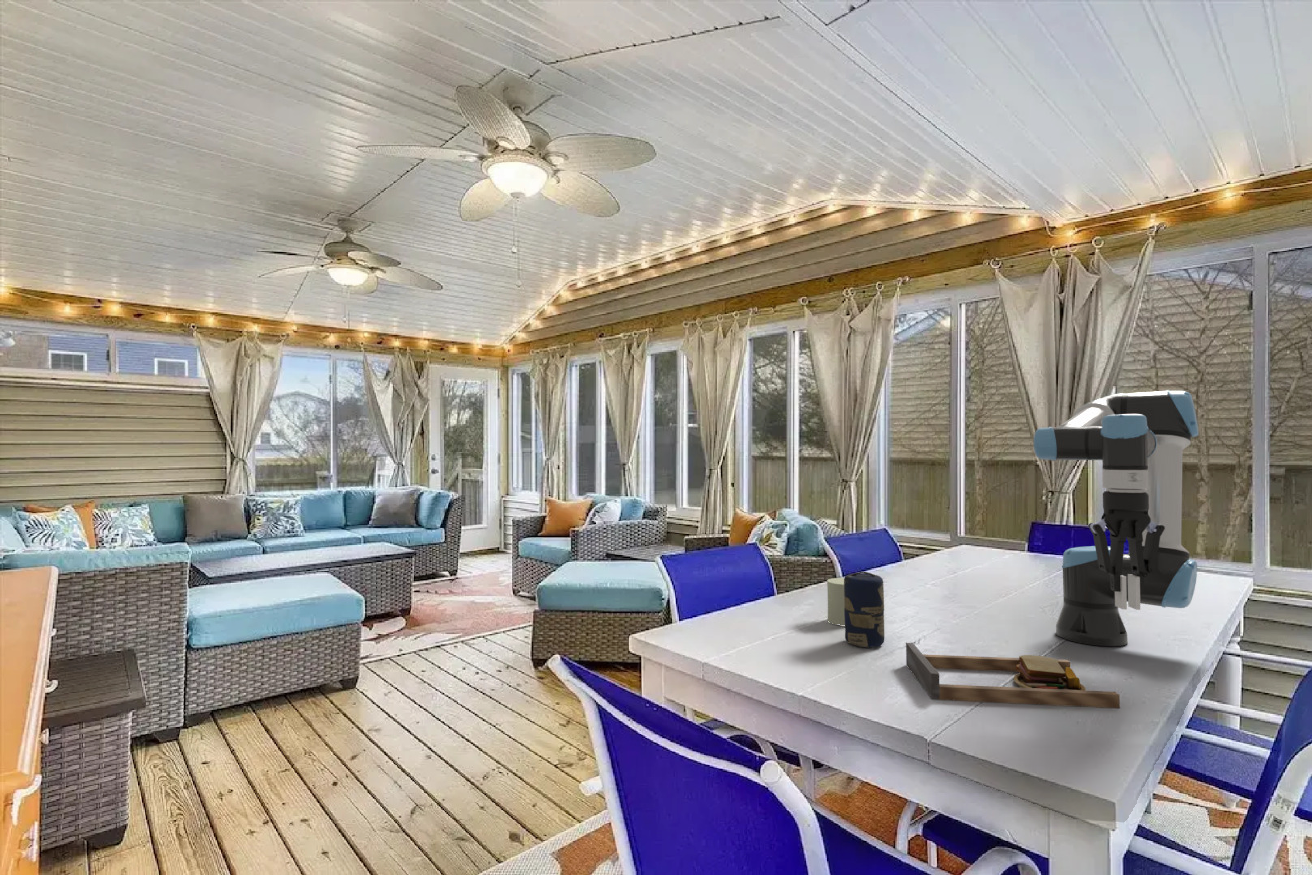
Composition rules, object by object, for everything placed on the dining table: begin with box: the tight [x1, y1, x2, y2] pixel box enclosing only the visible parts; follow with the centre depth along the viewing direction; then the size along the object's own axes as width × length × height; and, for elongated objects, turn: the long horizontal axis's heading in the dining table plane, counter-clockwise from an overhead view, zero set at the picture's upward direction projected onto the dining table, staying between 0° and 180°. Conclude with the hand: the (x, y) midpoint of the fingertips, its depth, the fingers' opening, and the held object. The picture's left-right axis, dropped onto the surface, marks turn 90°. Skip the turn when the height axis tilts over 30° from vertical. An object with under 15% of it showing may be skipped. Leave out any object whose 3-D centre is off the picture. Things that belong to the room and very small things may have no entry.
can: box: [826, 577, 845, 625], centre depth 180 cm, size 9×9×12 cm
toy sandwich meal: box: [1013, 654, 1086, 690], centre depth 131 cm, size 12×14×5 cm
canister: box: [843, 571, 885, 648], centre depth 160 cm, size 10×10×18 cm
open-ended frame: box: [905, 642, 1121, 709], centre depth 132 cm, size 34×20×5 cm, turn 82°
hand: (1127, 607), depth 129 cm, fingers open, 2 cm apart
